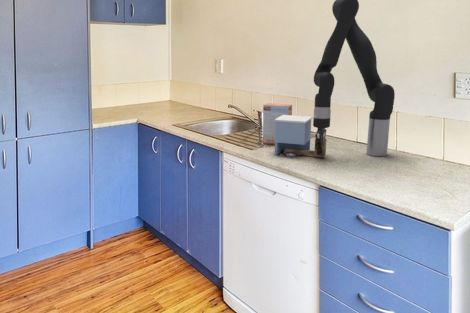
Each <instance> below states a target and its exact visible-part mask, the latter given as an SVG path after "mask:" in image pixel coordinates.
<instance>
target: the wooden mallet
mask: <svg viewBox="0 0 470 313" xmlns="http://www.w3.org/2000/svg"><path fill="white" fill-rule="evenodd" d="M318 143H320V142H318ZM286 152H295V153H296V156H300V155H302V156H309V157H314V158H322V159H324V158H325V157H326V154H327V138H326V139H324V141H323V142H322V154H321V155H318V154H317V146H316V138H315V140H314V150H312V149H310V150H300V149H289V148H284V149H283V154H286Z"/></svg>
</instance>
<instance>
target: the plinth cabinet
mask: <svg viewBox="0 0 470 313" xmlns="http://www.w3.org/2000/svg"><path fill="white" fill-rule="evenodd" d="M312 120H313V116H306V115H305V116H304V115H293V114H292V115H282V116H280V117H278V118H276V119H275V120H274V121H275V145H274V155H275V156H277V155H279V154H280V153H281V152H282V151H284V148H289V149H300V150H311V137H312V136H311V135H312Z"/></svg>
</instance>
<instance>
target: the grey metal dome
mask: <svg viewBox="0 0 470 313" xmlns="http://www.w3.org/2000/svg"><path fill="white" fill-rule="evenodd" d="M285 157H286V158H290V159H291V158H292V159H294V158H296V157H297V154H296V153H295V152H286V153H285Z"/></svg>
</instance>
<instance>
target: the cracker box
mask: <svg viewBox="0 0 470 313" xmlns="http://www.w3.org/2000/svg"><path fill="white" fill-rule="evenodd" d="M262 108H263V110H262V112H263V113H262V114H263V115H262V144H263V145H271V144H272V145H273V146H275V121H274V120H275V119H276V118H278V117H280V116H282V115H292V116H293V104H283V103H270V102H269V103H264V104H263V107H262Z"/></svg>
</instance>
